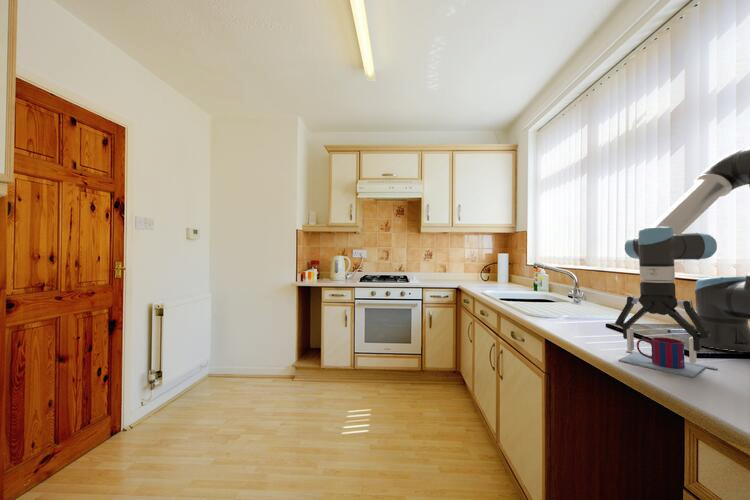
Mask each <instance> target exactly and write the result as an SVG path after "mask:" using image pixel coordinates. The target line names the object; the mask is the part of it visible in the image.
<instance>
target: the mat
mask: <svg viewBox="0 0 750 500" xmlns="http://www.w3.org/2000/svg"><path fill="white" fill-rule="evenodd" d="M617 361H618V362H620V361H621V362H622V363H625V364H630V365H634V366H638V365H639V367H643V366H644V368H647V367H648V369H652V370H656V371H661V372H665V373H670V374H675V375H679V376H683V377H689V378H693V379H694V378H695V377H696V376H697V375H699V374H700V373H701V372H703V371H704V370H705V369H706V368H705V367H701V366H696V365H691V364H686V363H685V367H684V368H682V369H674V368H667V367H662V366H658V365H656V364H654V363H653V362H652V359H650V358H647V357H645V356H643V355H641V354H636V353H629V354H627V355H625V356H623V357H621V358H619V359H618V360H617Z"/></svg>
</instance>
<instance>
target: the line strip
mask: <svg viewBox="0 0 750 500" xmlns="http://www.w3.org/2000/svg"><path fill="white" fill-rule="evenodd" d="M625 353H629V354H631V353H636V354H641V353H640V352H639V351H634V350H633V351H628V350H626V352H625ZM645 354H646V355H648V356H652V354H649V353H645ZM641 355H642V354H641ZM684 363H686V364H691V365H696V366H701V367H705V369H709V370H715V371H717V370H718V369H719V368H718V367H716V366H709V365H705V364H700V363H696V362H695V363H694V364H692V363H690V361H685V360H684Z"/></svg>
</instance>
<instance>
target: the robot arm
mask: <svg viewBox="0 0 750 500" xmlns="http://www.w3.org/2000/svg"><path fill="white" fill-rule="evenodd" d="M693 182H694V185H693V186H692V187H691V188H690V189H689V190H687V192H685V193H684V194H683V196H681V197H680V198H679V199H678V200H677V201H676V202H675V203H674V204H673V205H672V206H670V207H669V209H667V211H665V213H663V214H662V216H660V217H659V218H658V219H657V220H656V221H655V222H654V223H653V224H652V225H651V226H649V227H644V228H642V227H641V229H640V230H638V235H637V236H634V237H631V238H628V239H627V240H626V241H625V244H624V251H625V253H626V255H627V256H628V257H629V258H631V259H635V260H638V262H639V279H640V280H641V281H640V282H639V287H640V288H639V291H640V297H637V296H635V295H629V296H627V298H626V303H625V305H624V307H623V308H622V311H621V312H620V314H619V315H618V316H617V319H616V320H615V323H614V324H615V325H616V326H618V327H621V328H622V336H623V337H622V338H623V339H624V340H626V342H627V343H626V346H627V347H626V348H627V350H626V351H634V350H635V342H634V341H635V340H634V337H635V335H634V328H633V327H632V326H633V325H634V324H635V323H636V322H637V321H639V319H641V318H642V317H643V316H644V315H646V314H647V313H649V314H650V315H656V314H657V315H661V316H666V315H668V316H669V317H671V318H672V319H673V320H674V321H675V322H676V324H678V325H679V326H680V327H682V329H684V330H685V332H686V333H687V334H688V335H689V338H688V351H689V353H688V355H689V356H688V357H689V362H690V363H692V364H694V363H695V364H696V363H697V352H700V351H701V350H702V347H701V346H706V347H713V348H719V349H728V350H735V351H747V352H750V326H749V320H750V272H749V273H747V274H745V276H721V277H720V276H719V277H718V276H717V277H702V278H699V279H697V280H696V282H695V289H694V292H695V305H696V306H695V307H696V310H695V309H694V306H693V301H692V300H690V299H687V300H678V299H677V297H676V283H675V282H674V281H675V280H676V273H675V272H676V271H675V261H677V260H678V261H679V260H682V261H683V260H684V261H685V260H686V261H687V260H689V261H690V260H696V261H699V260H705V259H708V258H711V257H712V256H713V255H715V254H716V252H717V249H718V243H717V240H716V239H715V238H714V237H713V236H712V235H710V234H708V233H698V232H692V233H691V232H690V233H684V232H685V231H686V230H687V229H688V228H689V227H690V226H691V225H692V224H693V223H694V222H695V221H696V220H698V219H699V218H700V217H701V216H702V215H703V213H704V212H706V211H707V210H708V209H710V207H711V206H712V205H713V204H714V203H715V202H716V201H717V200H718V199H719V198H721V197H725V196H727V195H728V194H730V193H731V192H732V191H733V190H735V189H737V188H741V187H743V186H747V185H748V187H749V188H750V146H748V147H743V148H740V149H737V150H735V151H732V152H729V153H728V154H726V155H724V156H723V157H721V158H719V159H718V160H717V161H715V162H714V163H712V164H711V165H710V166H708V167H707V168H706V169H705V170H704V171H702V173H700V174H699V175H698V176H697V177H696V179H694V181H693ZM638 303H639V304H640V305H641V306H642V307H641V308H640V309H638V311H637V312H636V313H635V314H633V315H632V316H631V317H630V318H628V320H627V321H626V322H625V320H626V319H627V317H628V316H629V314H630V312H631V311H632V309H633V308H634V305H636V304H638ZM678 306H679V307H680V308H681V309H684V310H685V311H684V312H685V313H686V314H687V316H688V317H689V319H690V320H691V322H692V323H693V325H694V327H693V325H691V324H690V323H689V322H688V320H686V319H685V317H683V316H682V315H681V314H680V312H679V311H678V310H676V308H677V307H678Z"/></svg>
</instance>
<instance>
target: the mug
mask: <svg viewBox="0 0 750 500" xmlns="http://www.w3.org/2000/svg"><path fill="white" fill-rule="evenodd" d="M643 341H644V342H647V343H649V344H650V345H651V355H652V356H648V355H646V354H647V353H644V352H642V350H641V349H640V343H641V342H643ZM636 349H637V352H639V353H641V354H642V355H643V356H645V357H647V358H650V359H652V362H653V363H654V364H656V365H658V366H662V367H667V368H674V369H682V368H684V367H685V363H684V361H685V342H684V341H682V340H680V339H676V338H670V337H660V336H657V337H651V339H650V340H649V339H645V338H640V339H638V340H637V342H636Z"/></svg>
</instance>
